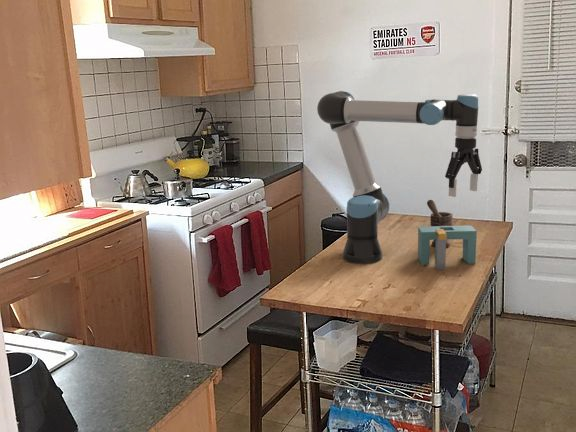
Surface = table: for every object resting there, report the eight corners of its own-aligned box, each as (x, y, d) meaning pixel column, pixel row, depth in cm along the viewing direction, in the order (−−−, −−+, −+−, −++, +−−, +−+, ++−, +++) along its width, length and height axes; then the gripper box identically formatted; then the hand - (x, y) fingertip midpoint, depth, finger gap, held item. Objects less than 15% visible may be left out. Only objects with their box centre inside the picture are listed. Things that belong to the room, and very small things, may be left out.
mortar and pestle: (443, 251, 262) (444, 202, 257) (423, 248, 267) (424, 200, 262) (454, 244, 271) (456, 196, 266) (435, 241, 276) (436, 194, 271)
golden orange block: (437, 271, 239) (438, 234, 235) (433, 265, 245) (434, 229, 242) (446, 271, 239) (447, 233, 235) (442, 265, 245) (443, 229, 242)
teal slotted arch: (421, 264, 247) (421, 232, 244) (417, 258, 255) (418, 226, 252) (475, 263, 246) (476, 231, 243) (470, 257, 254) (471, 225, 251)
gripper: (454, 141, 234) (451, 200, 239) (493, 134, 250) (490, 189, 255) (436, 139, 239) (434, 196, 245) (476, 133, 255) (473, 187, 260)
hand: (462, 193), depth 250 cm, fingers open, 13 cm apart
